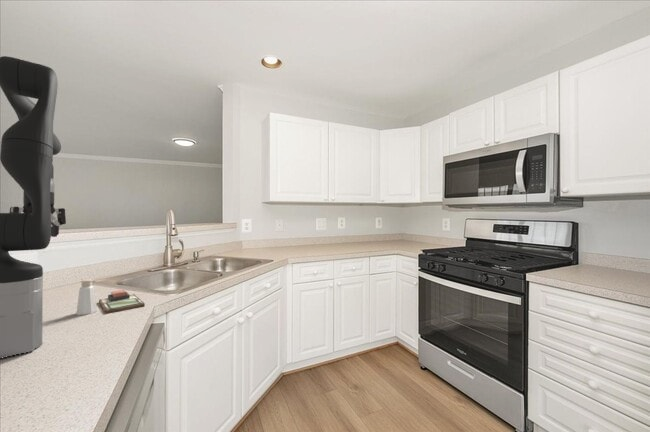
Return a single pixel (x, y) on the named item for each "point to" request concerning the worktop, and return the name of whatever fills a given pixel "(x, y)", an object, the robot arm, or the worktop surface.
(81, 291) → the pepper shaker
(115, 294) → the button
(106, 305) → the metal control panel
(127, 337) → the worktop surface
